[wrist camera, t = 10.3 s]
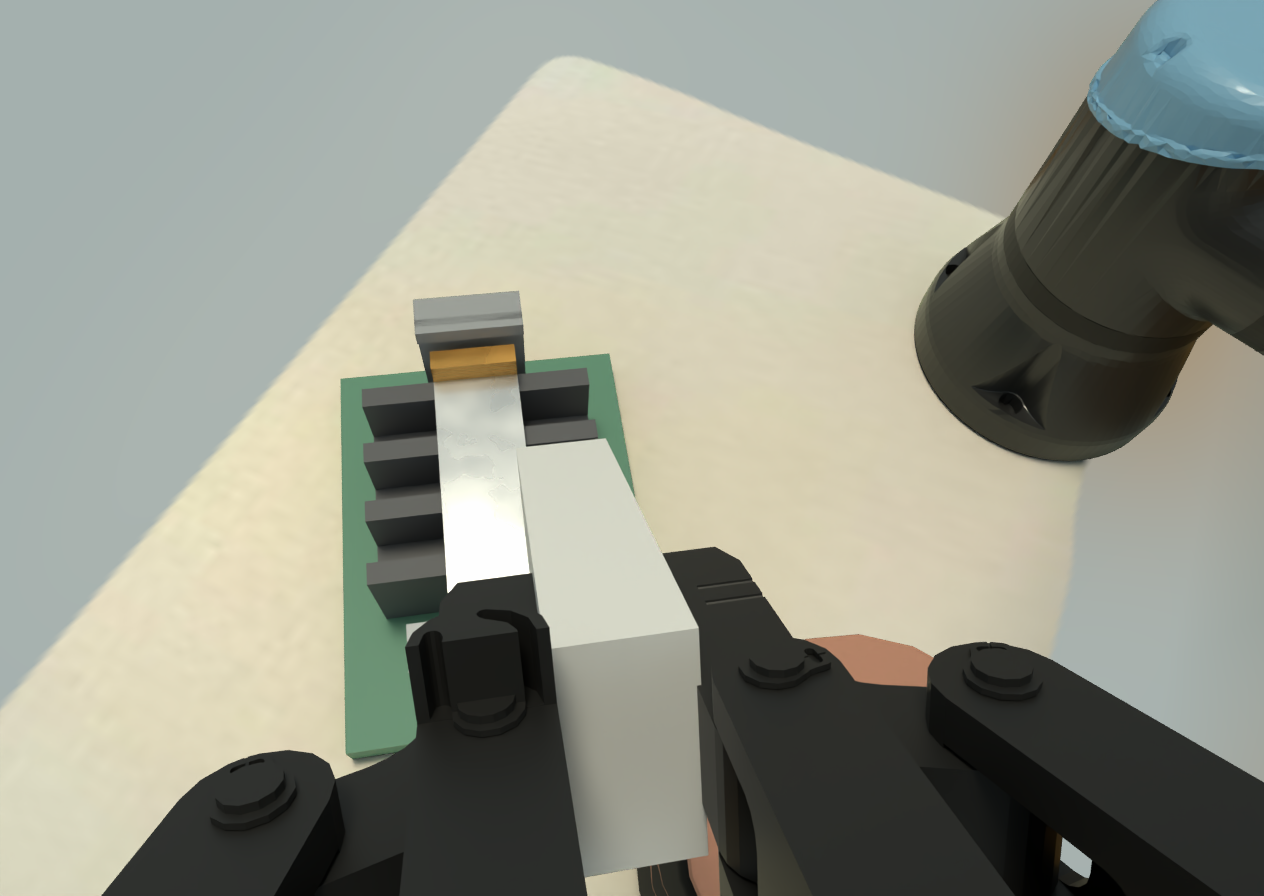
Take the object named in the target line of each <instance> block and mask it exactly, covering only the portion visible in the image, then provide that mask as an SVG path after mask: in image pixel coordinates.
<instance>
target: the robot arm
mask: <svg viewBox="0 0 1264 896" xmlns="http://www.w3.org/2000/svg"><path fill="white" fill-rule="evenodd" d="M1213 324H1214V325H1215V326H1217V327H1219V328H1220V329H1222V330H1223V331H1225V332H1226V333H1228V334H1230V335H1232V336H1233V337H1235V338H1236V339H1238V340H1240V341H1241V342H1243V343H1245V344H1246V345H1248V346H1249V347H1251V348H1253V349H1254V350H1255V351H1257V352H1259V353H1261V354H1262V355H1264V0H1157V1H1156V2H1155V3H1154V4H1153V5H1152V6H1151V7H1150V8H1149V9H1148V10H1147V11H1146V12H1145V13H1144V15H1143V16H1142V17H1141V18H1140V20H1139V21H1138V22H1137V24H1136V25H1135V27H1134V28H1133V29H1132V31H1131V32H1130V34H1129V35H1128V36H1127V38H1126V39H1125V40H1124V42H1123V43H1122V45H1121V46H1120V47H1119V49H1118V50H1117V52H1116V53H1115V54H1114V55H1113V56H1112V57H1111V58H1110V59H1108V60H1107V61H1106V62H1105V63H1104V64H1103V65H1102V66H1101V67H1100V69H1099V70H1098V71H1097V72H1096V74H1095V76H1094V78H1093V79H1092V81H1091V83H1090V89H1089V92H1088V95H1087V97H1086V99H1085V100H1084V102H1083V103H1082V105H1081V106H1080V108H1079V110H1078V111H1077V113H1076V114H1075V116H1074V117H1073V119H1072V120H1071V122H1070V123H1069V125H1068V127H1067V128H1066V130H1065V131H1064V133H1063V134H1062V136H1061V138H1060V139H1059V141H1058V142H1057V144H1056V145H1055V147H1054V148H1053V150H1052V152H1051V153H1050V155H1049V156H1048V158H1047V159H1046V161H1045V162H1044V164H1043V165H1042V167H1041V168H1040V170H1039V171H1038V173H1037V174H1036V176H1035V177H1034V179H1033V180H1032V182H1031V183H1030V185H1029V186H1028V188H1027V189H1026V191H1025V192H1024V194H1023V196H1022V197H1021V199H1020V201H1019V202H1018V203H1017V205H1016V207H1015V208H1014V210H1013V211H1012V212H1011V214H1010V216H1008V217H1007V218H1005V219H1004V220H1003V221H1001V222H1000V223H999V224H997V225H996V226H994V227H993V228H992V229H990V230H989V231H988V232H986V233H985V234H983V235H982V236H981V237H979V238H978V239H976V240H975V241H974V242H972V243H971V244H970V245H968V246H967V247H966V248H964V249H963V250H961V251H960V252H959V253H957V254H956V255H955V256H953V257H952V258H951V259H950V260H949V261H948V262H947V263H946V264H945V265H944V266H943V268H942V269H941V270H940V271H939V273H938V274H937V275H936V277H935V279H934V280H933V282H932V284H931V285H930V287H929V289H928V290H927V292H926V294H925V296H924V297H923V299H922V301H921V303H920V306H919V309H918V312H917V316H916V322H915V343H916V349H917V353H918V357H919V360H920V363H921V366H922V368H923V371H924V373H925V375H926V377H927V379H928V381H929V382H930V384H931V386H932V387H933V389H934V390H935V392H936V393H937V395H938V396H939V397H940V398H941V400H942V401H943V402H944V403H945V404H946V405H947V407H948V408H949V409H950V410H951V411H952V412H953V413H954V414H955V415H956V416H957V417H959V418H960V419H961V420H962V421H963V422H964V423H966V424H967V425H968V426H970V427H971V428H972V429H974V430H975V431H977V432H978V433H979V434H981V435H983V436H984V437H986V438H988V439H989V440H991V441H993V442H995V443H997V444H999V445H1001V446H1004V447H1006V448H1008V449H1011V450H1013V451H1016V452H1019V453H1022V454H1025V455H1029V456H1033V457H1037V458H1042V459H1049V460H1059V461H1076V460H1085V459H1092V458H1095V457H1099V456H1103V455H1106V454H1108V453H1111V452H1113V451H1115V450H1117V449H1119V448H1121V447H1122V446H1124V445H1125V444H1127V443H1128V442H1130V441H1131V440H1132V439H1133V438H1134V437H1136V436H1137V435H1138V434H1139V433H1140V432H1141V431H1143V430H1144V429H1145V428H1146V427H1148V426H1149V425H1150V424H1151V423H1152V422H1153V421H1154V420H1155V419H1156V418H1157V417H1158V416H1159V415H1160V413H1161V412H1162V411H1163V409H1164V408H1165V407H1166V405H1167V403H1168V402H1169V400H1170V398H1171V396H1172V393H1173V390H1174V388H1175V385H1176V382H1177V378H1178V375H1179V373H1180V371H1181V370H1182V368H1183V366H1184V364H1185V362H1186V360H1187V358H1188V356H1189V354H1190V352H1191V350H1192V348H1193V346H1194V344H1195V342H1196V340H1197V339H1198V337H1200V336H1201V335H1202V334H1203V333H1204V332H1205V331H1206V330H1207V329H1208V328H1209V327H1211V326H1212V325H1213ZM516 453H517V462H518V472H519V481H520V490H521V500H522V509H523V519H524V528H525V537H526V547H527V556H528V566H529V573H528V574H520V575H512V576H504V577H497V578H489V579H481V580H473V581H465V582H457V584H456V585H455V586H454V587H453V588H452V589H451V590H450V592H449V593H448V594H447V595H446V596H445V597H444V598H443V600H442V601H441V602H440V608H439V616H437V617H435V618H432V619H430V620H428V621H427V622H426V623H424V624H423V625H422V626H420V627H419V628H418V629H417V630H415V631H414V632H413V633H412V634H411V636H410V638H409V640H408V642H407V644H406V646H405V651H406V658H407V664H408V670H409V677H410V683H411V689H412V696H413V702H414V708H415V715H416V721H417V730H416V738H415V739H414V740H413V741H412V742H411V743H409V744H408V745H407V746H406V747H405V748H403V749H402V750H400V751H399V752H397V753H396V754H394V755H392V756H391V757H389V758H388V759H386V760H383V761H381V762H379V763H377V764H374V765H372V766H370V767H368V768H365V769H362V770H360V771H357V772H354V773H351V774H349V775H346V776H343V777H340V778H338V779H335V777H334V775H333V772H332V770H331V767H330V764H329V763H327V762H326V761H324V760H323V759H321V758H319V757H318V756H316V755H314V754H313V753H306V752H298V751H291V750H285V751H277V752H269V753H261V754H257V755H253V756H249V757H248V758H245V759H244V758H243V759H240V760H238V761H235V762H233V763H230V764H228V765H226V766H224V767H223V768H221V769H219V770H217V771H216V772H214V773H212V774H210V775H209V776H207V777H205V778H203V779H202V780H200V781H199V782H198V783H197V784H196V785H195V786H194V787H193V788H192V789H190V790H189V791H188V792H187V793H186V794H185V795H184V796H183V797H182V798H181V799H180V800H179V801H178V802H177V803H176V804H175V806H174V807H173V808H172V809H171V811H170V812H169V813H168V814H167V815H166V817H165V818H164V819H163V820H162V822H161V823H160V824H159V825H158V827H157V828H156V829H155V830H154V832H153V833H152V834H151V835H150V836H149V838H148V839H147V840H146V841H145V843H144V844H143V845H142V846H141V848H140V849H139V850H138V851H137V852H136V854H135V855H134V856H133V857H132V859H131V860H130V861H129V862H128V864H127V865H126V866H125V867H124V869H123V870H122V871H121V872H120V873H119V875H118V876H117V877H116V878H115V880H114V881H113V882H112V883H111V885H110V886H109V887H108V888H107V889H106V891H105V892H104V893H103V894H102V896H587V891H586V884H585V878H584V877H589V876H595V875H600V874H606V873H612V872H617V871H623V870H629V869H634V868H640V867H645V866H651V865H657V864H662V863H668V862H674V861H679V860H685V859H691V858H696V857H702V856H707V855H708V832H707V818H708V821H709V824H710V827H711V829H712V832H713V835H714V838H715V841H716V843H717V846H718V857H719V883H720V896H1264V782H1262V781H1260V780H1259V779H1257V778H1255V777H1253V776H1252V775H1250V774H1248V773H1247V772H1245V771H1243V770H1241V769H1240V768H1238V767H1236V766H1234V765H1233V764H1231V763H1229V762H1228V761H1226V760H1224V759H1222V758H1221V757H1219V756H1217V755H1215V754H1214V753H1212V752H1210V751H1209V750H1207V749H1205V748H1203V747H1202V746H1200V745H1198V744H1196V743H1195V742H1193V741H1191V740H1189V739H1188V738H1186V737H1184V736H1182V735H1181V734H1179V733H1177V732H1176V731H1174V730H1172V729H1170V728H1169V727H1167V726H1165V725H1164V724H1162V723H1160V722H1158V721H1157V720H1155V719H1153V718H1151V717H1150V716H1148V715H1146V714H1144V713H1143V712H1141V711H1139V710H1138V709H1136V708H1134V707H1132V706H1130V705H1129V704H1127V703H1125V702H1124V701H1122V700H1120V699H1118V698H1117V697H1115V696H1113V695H1112V694H1110V693H1108V692H1106V691H1105V690H1103V689H1101V688H1100V687H1098V686H1096V685H1094V684H1093V683H1091V682H1089V681H1087V680H1086V679H1084V678H1082V677H1080V676H1079V675H1077V674H1075V673H1074V672H1072V671H1070V670H1068V669H1067V668H1065V667H1063V666H1061V665H1060V664H1058V663H1056V662H1055V661H1053V660H1051V659H1048V658H1046V657H1044V656H1041V655H1039V654H1037V653H1034V652H1032V651H1030V650H1027V649H1022V648H1018V647H1013V646H1009V645H1007V644H1004V643H995V642H990V643H987V642H975V643H970V644H964V645H959V646H953V647H950V648H948V649H946V650H944V651H942V652H941V653H939V654H937V655H935V656H934V658H933V660H932V661H931V663H930V665H929V667H928V671H927V687H922V686H901V685H881V684H872V683H864V682H858V681H855V680H854V678H853V677H852V676H851V674H850V673H849V672H848V670H847V669H846V668H845V666H844V665H843V664H842V662H841V661H840V660H839V659H838V658H837V657H835V656H834V655H833V654H832V653H831V652H830V651H828V650H827V649H826V648H824V647H821V646H819V645H816V644H814V643H811V642H809V641H806V640H802V639H796V638H793V637H792V636H791V634H790V633H789V631H788V630H787V629H786V627H785V626H784V624H783V623H782V621H781V620H780V618H779V617H778V615H777V614H776V612H775V611H774V610H773V608H772V607H771V605H770V604H769V602H768V601H767V599H766V598H765V597H763V596H762V592H761V591H760V589H759V588H758V586H757V585H756V583H755V582H753V581H752V577H751V576H750V574H749V573H748V571H747V570H746V569H745V567H744V566H743V564H742V563H741V561H740V560H738V559H736V558H735V557H733V556H731V555H729V554H727V553H725V552H723V551H722V550H720V549H718V548H716V547H710V548H702V549H694V550H686V551H678V552H670V553H662V552H661V550H660V548H659V546H658V544H657V542H656V540H655V538H654V536H653V534H652V532H651V530H650V528H649V526H648V524H647V521H646V519H645V517H644V515H643V513H642V511H641V509H640V507H639V505H638V503H637V501H636V499H635V497H634V495H633V493H632V491H631V489H630V487H629V485H628V483H627V481H626V479H625V477H624V475H623V473H622V471H621V468H620V466H619V464H618V462H617V460H616V458H615V456H614V454H613V452H612V450H611V448H610V446H609V444H608V442H607V440H606V438H604V439H595V440H585V441H576V442H567V443H558V444H548V445H539V446H530V447H520V448H516ZM1062 838H1065V839H1066V840H1067V841H1068V842H1070V843H1071V844H1072V845H1074V846H1075V847H1076V848H1077V849H1079V850H1080V851H1081V852H1082V853H1084V854H1085V855H1086V856H1087V857H1089V858H1090V859H1091V860H1092V865H1091V873H1090V877H1089V878H1085V877H1083V876H1081V875H1080V874H1078V873H1076V872H1075V871H1073V870H1072V869H1071V868H1070V867H1068V866H1067V865H1066V864H1065V863H1063V862H1062V861H1061V860H1060V856H1061V847H1062Z"/></svg>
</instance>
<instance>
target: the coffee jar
mask: <svg viewBox="0 0 1264 896" xmlns="http://www.w3.org/2000/svg"><path fill="white" fill-rule="evenodd" d="M805 640H806V641H809V642H811V643H814V644H816V645H819V646H821V647H824V648H826V649H827V650H828V651H830V652H831V653H832V654H833V655H834V656H835V657H837V658H838V659H839V660H840V661H841V662H842V664H843V665H844V666H845V668H846V669H847V670H848V672H849V673H850V674H851V676H852V677H853V678H854V680H855V681H858V682H864V683H872V684H881V685H901V686H922V687H927V671H928V667H929V665H930V663H931V661H932V660H933V657H931V656H929V655H928V654H926V653H924V652H922V651H920V650H918V649H917V648H915V647H913V646H908V645H904V644H900V643H895V642H891V641H886V640H882V639H877V638H873V637H868V636H864V635H859V634H857V635H846V636H834V637H823V638H812V639H805ZM707 832H708V855H707V856H702V857H696V858H691V859H685V860H679V861H674V862H668V863H662V864H657V865H651V866H645V867H640V868H637V871H638V881H639V891H640V894H641V896H720V883H719V857H718V846H717V843H716V841H715V838H714V835H713V832H712V829H711V827H710V824H709V821H708V818H707Z"/></svg>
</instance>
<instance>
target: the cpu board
mask: <svg viewBox="0 0 1264 896" xmlns="http://www.w3.org/2000/svg"><path fill="white" fill-rule="evenodd" d="M413 308H414V325H415V336H416V340H417V344H419V347H420V351H421V355H422V359H423V363H424V368H425V371H420V372H409V373H398V374H388V375H377V376H367V377H356V378H345V379H341V445H342V518H343V591H344V665H345V738H346V754H347V755H348V756H349V757H350V758H352V759H356V758H363V757H369V756H376V755H382V754H389V753H396V752H399V751H400V750H402V749H403V748H405V747H406V746H407V745H408V744H409V743H411V742H412V741H413V740H414V739H415V738H416V730H417V721H416V715H415V708H414V702H413V696H412V689H411V683H410V677H409V670H408V664H407V658H406V651H405V646H406V644H407V642H408V640H409V638H410V636H411V634H412V633H413V632H414V631H415V630H417V629H418V628H419V627H420V626H422V625H423V624H424V623H426V622H427V621H428V620H430V619H432V618H435V617H437V616H439V608H440V602H441V601H442V600H443V598H444V597H445V596H446V595H447V594H448V588H447V573H446V558H445V544H444V529H443V514H442V499H441V484H440V470H439V455H438V440H437V425H436V410H435V396H434V382H433V377H432V373H431V367H430V352H432V351H443V350H454V349H465V348H476V347H486V346H497V345H508V344H514V347H515V355H516V365H517V376H518V385H519V393H520V401H521V409H522V417H523V426H524V434H525V442H526V447H530V446H539V445H548V444H558V443H567V442H576V441H585V440H595V439H604V438H606V440H607V442H608V444H609V446H610V448H611V450H612V452H613V454H614V456H615V458H616V460H617V462H618V464H619V466H620V468H621V471H622V473H623V475H624V477H625V479H626V481H627V483H628V485H629V487H630V489H631V491H632V493H633V495H634V489H633V484H632V478H631V473H630V467H629V461H628V456H627V450H626V445H625V439H624V434H623V428H622V422H621V417H620V411H619V406H618V400H617V395H616V389H615V383H614V378H613V372H612V367H611V361H610V355H609V354H600V355H589V356H579V357H568V358H558V359H547V360H536V361H526V362H525V355H524V338H523V335H524V331H523V320H522V312H521V304H520V296H519V291H511V292H499V293H487V294H475V295H463V296H451V297H439V298H427V299H415V300H413ZM634 497H635V495H634Z"/></svg>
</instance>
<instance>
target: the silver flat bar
mask: <svg viewBox="0 0 1264 896" xmlns="http://www.w3.org/2000/svg"><path fill="white" fill-rule="evenodd" d="M430 367H431V373H432V377H433V382H434V396H435V410H436V425H437V440H438V455H439V470H440V484H441V499H442V514H443V529H444V544H445V558H446V573H447V588H448V593H449V592H450V590H451V589H452V588H453V587H454V586H455V585H456V584H457V582H465V581H473V580H481V579H489V578H497V577H504V576H512V575H520V574H528V573H529V566H528V556H527V547H526V537H525V528H524V519H523V509H522V500H521V490H520V481H519V472H518V462H517V453H516V448H520V447H526V442H525V434H524V426H523V417H522V409H521V401H520V393H519V385H518V376H517V365H516V355H515V347H514V344H508V345H497V346H486V347H476V348H465V349H454V350H443V351H432V352H430Z"/></svg>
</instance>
